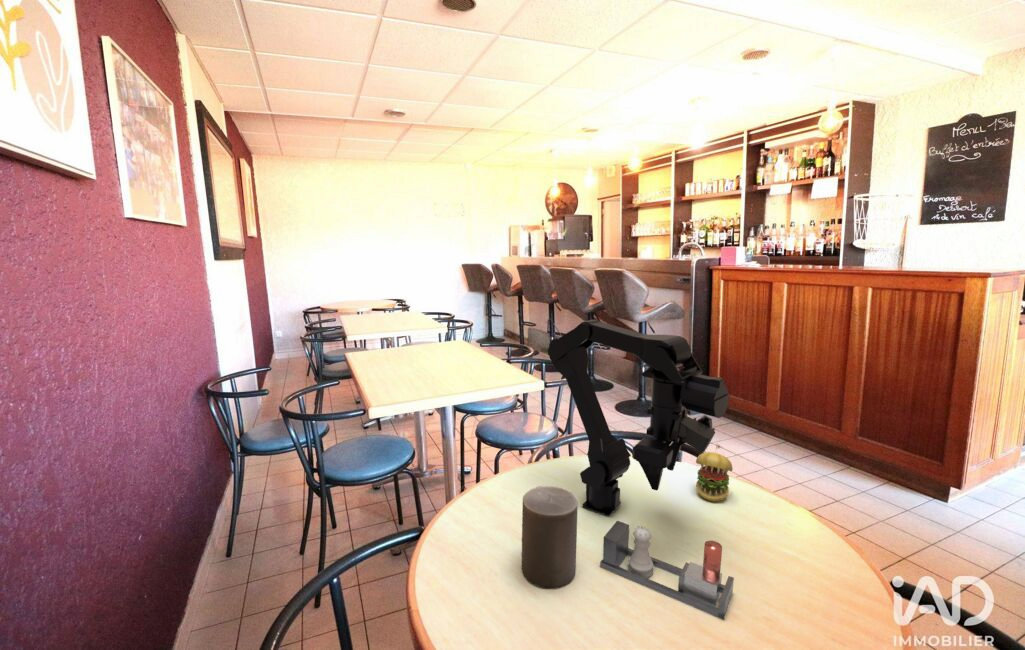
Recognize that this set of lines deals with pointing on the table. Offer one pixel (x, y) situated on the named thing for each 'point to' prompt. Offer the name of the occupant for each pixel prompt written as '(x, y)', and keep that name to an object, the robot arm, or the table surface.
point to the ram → (703, 576)
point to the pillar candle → (549, 536)
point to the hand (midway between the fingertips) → (662, 479)
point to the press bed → (619, 549)
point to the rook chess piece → (641, 553)
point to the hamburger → (713, 475)
